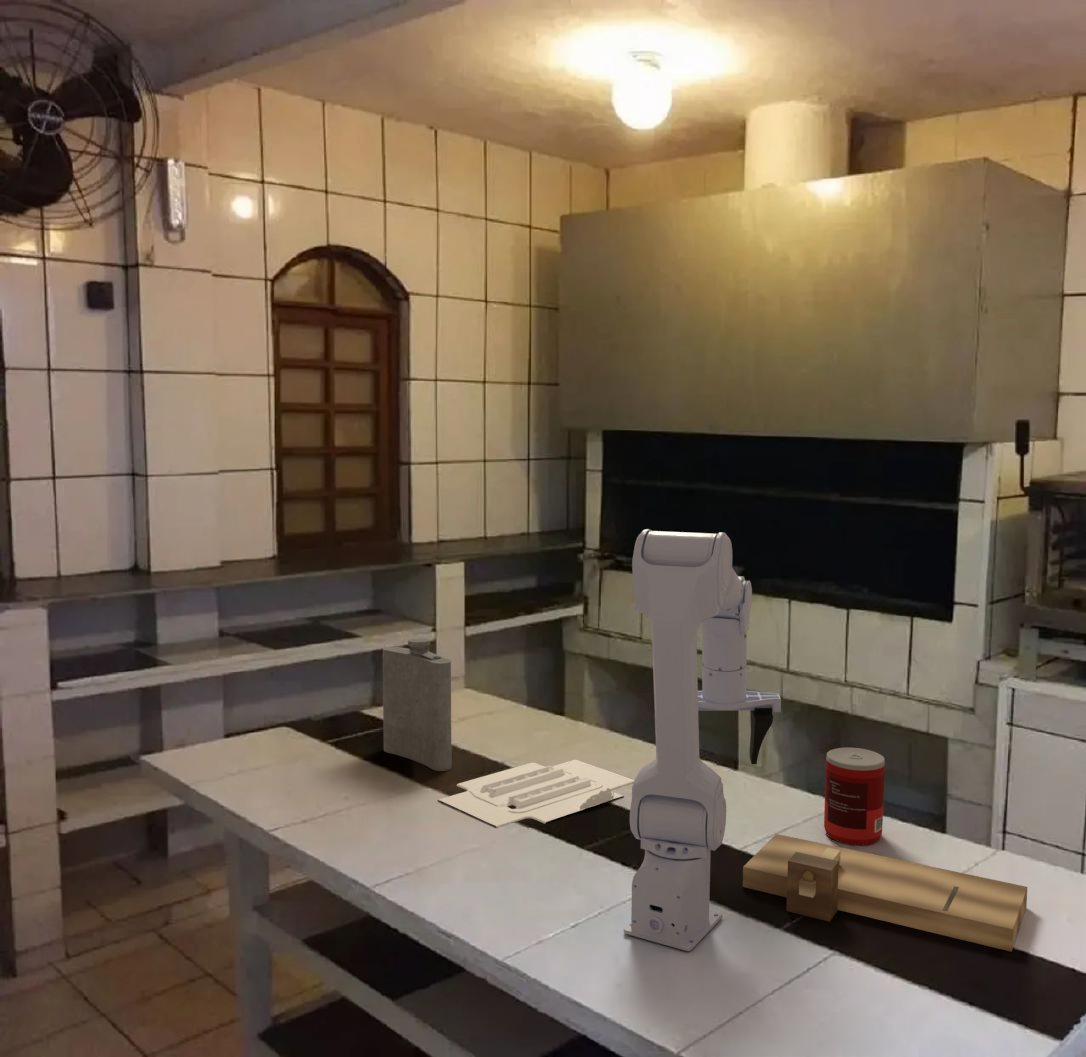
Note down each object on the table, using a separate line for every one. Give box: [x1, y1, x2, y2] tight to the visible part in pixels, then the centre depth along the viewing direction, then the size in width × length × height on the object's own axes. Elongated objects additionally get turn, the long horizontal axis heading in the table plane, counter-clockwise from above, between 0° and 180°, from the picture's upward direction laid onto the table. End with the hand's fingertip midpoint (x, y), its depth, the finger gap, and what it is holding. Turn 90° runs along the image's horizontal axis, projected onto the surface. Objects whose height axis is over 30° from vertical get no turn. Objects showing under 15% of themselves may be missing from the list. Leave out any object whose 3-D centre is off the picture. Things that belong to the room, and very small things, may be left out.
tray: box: [437, 759, 635, 829], centre depth 161 cm, size 20×28×4 cm
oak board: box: [742, 833, 1028, 952], centre depth 126 cm, size 12×30×2 cm, turn 59°
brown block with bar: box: [785, 847, 841, 922], centre depth 125 cm, size 11×5×6 cm, turn 149°
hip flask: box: [382, 637, 452, 772], centre depth 176 cm, size 16×4×20 cm, turn 45°
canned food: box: [823, 747, 886, 846], centre depth 145 cm, size 8×8×11 cm
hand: (724, 761), depth 143 cm, fingers open, 7 cm apart
